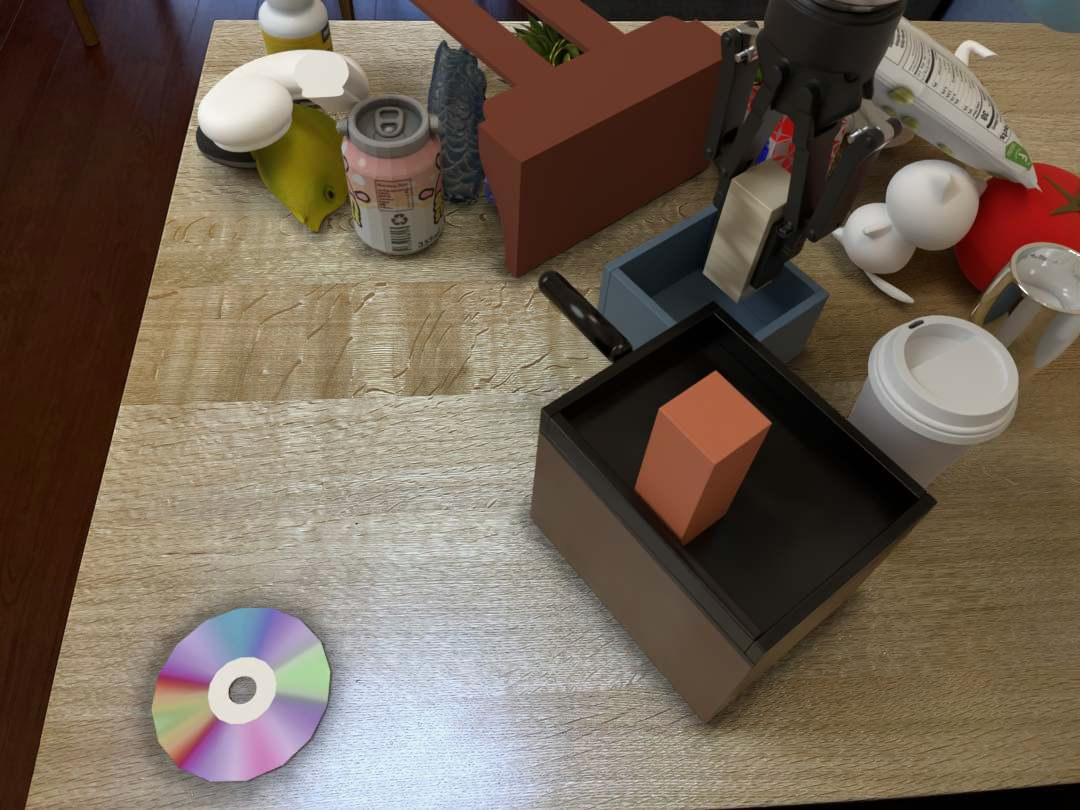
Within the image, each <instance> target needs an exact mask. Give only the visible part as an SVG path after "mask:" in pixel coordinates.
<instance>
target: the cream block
mask: <svg viewBox="0 0 1080 810" xmlns="http://www.w3.org/2000/svg"><path fill="white" fill-rule="evenodd" d="M790 178H791V174H790V173H789V172H788V171H786V170H785V169H784V168H782V167H781V166H780V165H779V164H777V163H776V162H775V161H773V160H772V159H771V158H768V159H767V160H765V161H763V162H761V163H760V164H758V165H756V166H754V167H752V168H751V169H749V170H747V171H745V172H744V173H742V174H740V175H738V176H736V177H735V178H733V179H732V180H731V184H730V187H729V190H728V193H727V197H726V200H725V203H724V206H723V209H722V213H721V216H720V219H719V222H718V226H717V229H716V232H715V235H714V238H713V242H712V245H711V248H710V251H709V255H708V258H707V261H706V264H705V267H704V271H703V274H704V275H705V276H706V277H708V278H709V279H710V280H711V281H712V282H713V283H714V284H715V285H717V286H718V287H719V288H720V289H721V290H722V291H723V292H725V293H726V294H727V295H728V296H729V297H730V298H731V299H732V300H734V301H735V302H736V303H737V304H738V303H739V302H741V301H742V300H744V299H746V298H747V297H749V296H750V295H752V294H753V293H755V292H757V291H758V290H760V289H761V288H763V287H764V286H766V285H767V284H769V283H771V282H772V280H771V281H769V282H768V283H766V284H765V285H763V286H761V287H760V288H758V289H757V290H756V289H754V288H753V287H752V286H751V285H750V281H751V278H752V276H753V273H754V270H755V268H756V265H757V263H758V260H759V257H760V255H761V252H762V250H763V247H764V244H765V242H766V239H767V236H768V234H769V231H770V229H771V226H772V223H774V222H776V221H777V220H779V219H781V218H782V217H784V215H785V208H786V202H787V196H788V190H789V184H790Z"/></svg>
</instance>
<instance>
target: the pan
mask: <svg viewBox="0 0 1080 810" xmlns="http://www.w3.org/2000/svg"><path fill="white" fill-rule="evenodd" d="M537 286H538V290H539V291H540V293H541V295H543V296H544V297H545V298H546V299H547V300H548V302H550V304H552V305H553V306H554V307H555V308H556V309H557V310H558V311H559V312H560V313H561V314H562V315H563V316H564V317H565V318H566V319H567V320H568V321H569V322H570V323H571V324H572V325H573V326H574V327H575V328H576V329H577V330H578V332H580V334H582V335H583V336H584V337H585V338H586V339H587V340H588V341H589V342H590V343H591V345H593V346H594V347H595V348H596V349H597V350H598V351H599V353H601V354H602V356H604V357H605V359H607V360H608V362H610V363H611V364H610V365H608V366H607V367H605V368H603V369H602V370H600V371H599V372H597V373H596V374H594V375H593V376H591V377H589V378H587V379H586V380H584V381H583V382H580V383H579V384H578V385H576V386H575V387H573V388H572V389H570V390H568V391H567V392H565V393H564V394H562V395H561V396H559V397H557V398H556V399H554V400H553V401H551V402H550V403H548V404H546V405H544V406H543V407H541V409H540V415H539V427H538V436H537V445H536V455H535V463H534V465H535V466H534V473H533V485H532V494H531V503H530V504H531V505H530V513H529V518H530V519H531V521H533V523H534V524H535V525H536V527H537V528H538V529H539V530H540V531H541V532H542V534H543V535H544V536H545V537H546V538H547V540H548V541H549V542H550V543H551V545H552V546H553V547H554V548H555V549H556V550H557V551H558V553H559V554H560V555H561V556H562V557H563V558H564V560H565V561H566V562H567V563H568V565H570V567H571V568H572V569H573V571H574V572H576V574H577V575H578V576H579V577H580V578H581V580H582V581H583V582H584V583H585V584H586V585H587V587H588V588H589V589H590V590H591V591H592V592H593V594H594V595H595V596H596V598H597V599H598V600H599V602H601V603H602V604H603V605H604V607H605V608H606V609H607V611H609V613H610V614H611V615H612V616H613V618H614V619H615V620H616V621H617V622H618V623H619V625H620V626H621V627H622V628H623V629H624V630H625V632H626V633H627V634H628V635H629V636H630V638H631V639H632V640H633V641H634V642H635V644H636V645H637V646H638V648H640V650H641V651H642V652H644V654H645V655H646V657H648V659H649V660H650V661H651V663H653V665H654V666H655V667H656V668H657V669H658V671H659V672H660V673H661V674H662V676H663V677H664V678H665V679H666V680H667V681H668V682H669V684H670V685H671V686H672V687H673V689H674V690H675V691H676V692H677V693H678V695H679V696H680V697H681V698H682V700H684V701H685V702H686V704H687V705H688V706H689V708H690V709H691V710H692V711H693V712H694V714H695V715H696V716H697V717H698V718H699V720H701V721H702V723H703V724H704V725H705V724H708V723H709V721H711V720H712V719H713V718H714V717H715V716H716V715H717V714H718V713H720V712H721V711H722V710H723V709H724V708H725V707H727V706H728V705H729V704H730V703H731V702H732V701H733V700H735V699H736V698H737V697H738V696H739V695H740V694H741V693H742V692H744V691H745V690H746V689H747V688H748V687H749V686H750V685H752V684H753V682H755V681H756V680H757V679H758V678H759V677H761V676H762V675H763V674H764V673H765V672H766V671H768V670H769V669H770V668H771V667H772V666H773V665H774V664H776V663H777V662H778V661H779V660H780V659H781V658H782V657H783V656H784V655H786V654H787V653H788V652H789V651H790V650H791V649H792V648H794V646H796V645H797V644H798V643H799V642H800V641H801V640H802V639H804V638H805V637H806V636H807V635H808V634H809V633H810V632H812V631H813V630H814V629H815V628H816V627H817V626H819V625H820V623H822V622H823V621H824V620H825V619H827V618H828V616H830V615H831V614H832V613H833V612H834V611H835V610H836V609H837V608H839V607H840V606H841V605H842V604H843V603H844V602H845V601H847V600H848V599H849V598H850V597H851V596H852V595H853V594H854V593H855V592H856V591H857V590H858V588H860V587H861V585H863V583H864V582H865V581H867V579H868V578H869V577H870V576H871V575H872V574H873V573H874V572H875V571H876V569H877V568H879V566H880V565H882V563H883V562H884V561H885V560H886V559H887V558H888V557H889V556H890V555H891V554H892V553H893V552H894V551H895V549H896V548H897V547H898V546H899V545H900V544H902V542H903V541H904V540H905V539H906V538H907V536H908V535H909V534H910V533H911V532H912V531H913V530H915V528H916V527H917V526H918V525H919V524H920V523H921V522H922V521H923V520H924V518H925V517H927V516H928V514H929V513H930V512H931V511H932V510H933V509H934V508H935V507H936V506H937V505H938V504H939V500H937V499H936V498H935V497H934V496H933V495H932V494H931V493H930V492H928V491H927V489H926V488H923V487H922V486H921V485H920V484H919V483H917V482H916V481H915V480H914V479H913V478H912V477H911V476H910V475H908V474H907V473H906V472H905V471H904V470H903V469H902V468H901V467H900V466H898V465H897V464H896V463H895V462H894V461H893V460H892V459H891V458H889V457H888V456H887V455H886V454H885V453H884V452H883V451H882V450H880V449H879V448H878V447H877V446H876V445H875V444H874V443H873V442H872V441H870V440H869V439H868V438H867V437H866V436H865V435H864V434H863V433H861V432H860V431H859V430H858V429H857V428H856V427H855V426H854V425H853V424H851V423H850V422H849V421H848V418H847V417H845V416H844V415H842V413H840V412H839V411H838V410H837V409H836V408H835V407H834V406H832V405H831V404H830V402H828V401H827V400H826V399H825V398H823V397H822V396H821V395H820V394H819V393H818V392H817V391H816V390H815V389H814V388H812V386H810V385H809V384H808V383H807V382H806V381H805V380H803V378H801V377H800V376H799V375H798V374H797V373H796V372H795V371H793V369H791V368H790V367H789V366H788V365H787V364H784V363H783V362H782V361H781V360H780V359H779V358H778V357H776V356H775V355H774V354H773V353H772V352H771V351H770V350H769V349H767V348H766V347H765V346H764V345H763V344H762V343H761V342H760V341H759V340H757V339H756V338H755V337H754V336H753V335H752V334H751V333H750V332H748V331H747V330H746V329H745V328H744V327H743V326H742V325H741V324H739V323H738V322H737V321H736V320H735V319H734V318H733V317H732V316H731V315H729V314H728V313H727V312H726V311H725V310H724V309H723V308H721V307H720V306H719V305H718V304H717V303H716V302H715V301H712V302H710V303H709V304H707V305H705V306H704V307H702V308H701V309H699V310H697V311H696V312H694V313H693V314H691V315H689V316H688V317H686V318H685V319H683V320H681V321H680V322H678V323H677V324H675V325H674V326H672V327H670V328H669V329H667V330H666V331H664V332H662V333H661V334H659V335H658V336H656V337H654V338H653V339H651V340H650V341H648V342H646V343H645V344H643V345H642V346H640V347H639V348H637V349H635V350H634V351H633V347H632V344H631V343H630V341H629V340H628V339H627V338H626V337H625V336H624V335H622V334H621V333H620V332H619V331H618V330H617V329H616V328H615V327H614V326H613V325H612V324H611V323H610V322H609V321H608V320H607V319H606V318H605V317H604V316H603V315H602V314H601V313H600V312H599V311H598V310H597V307H595V306H594V305H593V304H592V303H591V302H590V301H589V300H588V299H587V298H586V297H585V296H584V295H583V294H582V293H581V292H580V291H579V290H578V289H577V288H576V287H575V286H574V285H572V283H570V281H568V280H567V279H566V278H565V277H564V276H563V275H562V274H561V273H560V272H558V271H556V270H552V269H550V270H546V271H544V272H543V273H541V274H540V276H539V278H538V281H537ZM714 371H717V372H718V373H719V374H720V375H721V376H722V377H724V378H725V379H726V380H727V381H728V382H729V383H730V384H731V385H732V386H733V387H734V388H735V389H736V390H737V391H738V392H740V393H741V394H742V395H743V396H744V397H745V398H746V399H747V400H748V401H749V402H750V403H751V404H752V405H753V406H754V407H756V408H757V409H758V410H759V411H760V412H761V413H762V414H763V415H764V416H765V417H766V418H767V419H768V420H769V421H770V422H771V423H772V424H771V426H770V428H769V430H768V432H767V434H766V436H765V438H764V440H763V442H762V444H761V446H760V448H759V450H758V452H757V454H756V455H755V457H754V459H753V461H752V463H751V465H750V467H749V469H748V471H747V473H746V475H745V477H744V479H743V481H742V483H741V485H740V487H739V489H738V490H737V492H736V494H735V496H734V498H733V500H732V502H731V504H730V506H729V508H728V510H727V512H726V514H725V515H724V516H722V517H721V518H720V519H718V520H717V521H716V522H715V523H713V524H712V525H711V526H709V527H708V528H707V529H705V530H704V531H703V532H701V533H700V534H699V535H698V536H696V537H695V538H694V539H692V540H691V541H690V542H688V543H687V544H686V545H684V546H683V545H682V543H681V542H680V541H679V540H678V539H677V538H676V537H675V536H674V535H673V534H672V533H671V532H670V531H669V529H668V528H667V527H666V526H665V525H664V524H663V523H662V522H661V521H660V520H659V519H658V518H657V517H656V515H655V514H654V513H653V512H652V511H651V510H650V509H649V508H648V507H647V506H646V505H645V504H644V502H643V501H642V500H641V499H640V498H639V497H638V496H637V495H636V494H635V493H634V489H635V486H636V482H637V479H638V476H639V473H640V469H641V466H642V463H643V460H644V456H645V453H646V450H647V446H648V443H649V440H650V437H651V433H652V430H653V427H654V424H655V420H656V417H657V414H658V410H659V408H661V407H662V406H663V405H665V404H666V403H668V402H669V401H671V400H672V399H674V398H675V397H677V396H678V395H680V394H681V393H683V392H684V391H686V390H687V389H689V388H690V387H692V386H693V385H695V384H696V383H698V382H699V381H701V380H702V379H704V378H705V377H707V376H708V375H710V374H711V373H713V372H714Z"/></svg>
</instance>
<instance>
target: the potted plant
mask: <svg viewBox="0 0 1080 810" xmlns="http://www.w3.org/2000/svg"><path fill="white" fill-rule="evenodd" d="M526 15H527V17H528V22H529V25H526V24H523V23H519V25H520V26H522V27H524V28H525V29H524V28H518V27H515V26H512V29H513V30H514V31H515V32H513V31H510V32H511V33H513V34H514V35H515V36H516V37H518V38H519V39H520V40H521V41H523V42H524V43H525V44H526V45H528V46H529V47H530V48H531V49H533V50H534V51H535V52H536V53H537V54H539V55H540V56H541V57H542V58H544V59H545V60H546V61H547V62H549V63H550V64H551V65H552V66H554V67H557V66H559V65H561V64H563V63H565V62H567V61H569V60H571V59H574V58H576V57H578V56H580V55H582V54H584V52H582V51H581V50H580V49H579V48H577V47H576V46H575V45H573V44H572V43H571V42H570V41H568V40H567V39H566V38H564V37H563V36H562V35H561V34H559V33H558V32H557V31H555V30H554V29H553V28H552V27H550V26H549V25H548V24H546V23H545V22H544V21H543V20H541V19H540V18H539V17H538V16H536V17H537V18H538V20H539V21H540V22H539V21H538V20H536V19H535V18H534V17H533V16H532V15H530V14H529V13H528V12H526ZM495 79H496V80H498V81H500V82H501V83H504V84H507V83H506V82H505V81H504V80H502V79H501V78H495ZM507 85H508V84H507ZM508 88H509V89H510V88H512V87H511V86H509V85H508Z"/></svg>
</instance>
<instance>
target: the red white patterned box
mask: <svg viewBox="0 0 1080 810" xmlns="http://www.w3.org/2000/svg"><path fill="white" fill-rule="evenodd" d="M761 84H762V82H757V83H754V84H753V88H752V92H751V96H750V99H749V103H748V107H747V111H746V115H745V118H744V121H745V120H746V118H747V116H748V114H749V113H750V111H751V108H750V104H751V102H752V100H753V99H754V97H755V95H756V93H757V91H758V90H759V88H760V86H761ZM743 123H744V122H743ZM848 124H849V122H848V121H847V120H846V119H845V118H843V121H842V126H841V129H840V131H839V133H838V134H837V136H836V137H835V139H834V144H833V149H832V154H831V159H830V164H829V169H828V172H830V169H831V167H832V164H833V162H834V160H835V157H836V155H837V152H838V150H839V148H840V145H841V143H842V141H843V138H844V136H845V134H846V133H845V131H846V129H847V127H848ZM793 130H794V123H793V122H792V121H791V120H790V119H789V117H788V116H786V115H783V117H782V118H781V120H780V121H779V123H778V125H777V126H776V128H775V130H774V131H773V133H772V135H771V136H770V138H769V139H768V141H767V143H766V144H765V146H764V148H763V149H762V151H761V153H760V154H759V156H758V158H757V159H756V161H755V162H754V163H756V162H759V163H758V164H760V163H761V162H763V161H765V160H767V159H768V158H771V159H772V160H773V161H775V162H776V163H777V164H779V165H780V166H781V167H782V168H784V169H785V170H786V171H788V172H789V173H790V174H791V171H792V165H793V159H794V153H795V144H793V143H792V136H793ZM758 164H757V165H758ZM755 166H756V165H755ZM753 167H754V166H753ZM751 168H752V167H751ZM751 168H750V169H751ZM748 170H749V169H748Z"/></svg>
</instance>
